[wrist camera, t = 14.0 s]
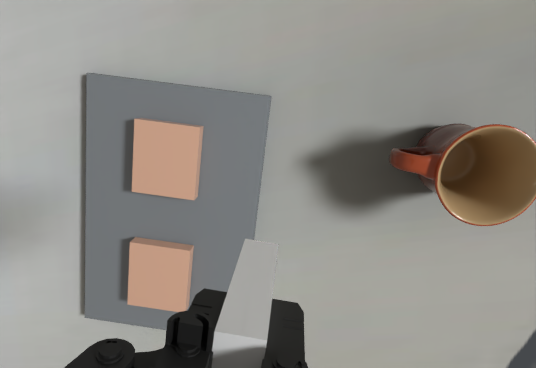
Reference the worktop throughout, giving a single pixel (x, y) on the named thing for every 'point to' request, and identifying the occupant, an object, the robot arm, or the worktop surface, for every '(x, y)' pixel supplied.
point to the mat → (161, 207)
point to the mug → (475, 170)
